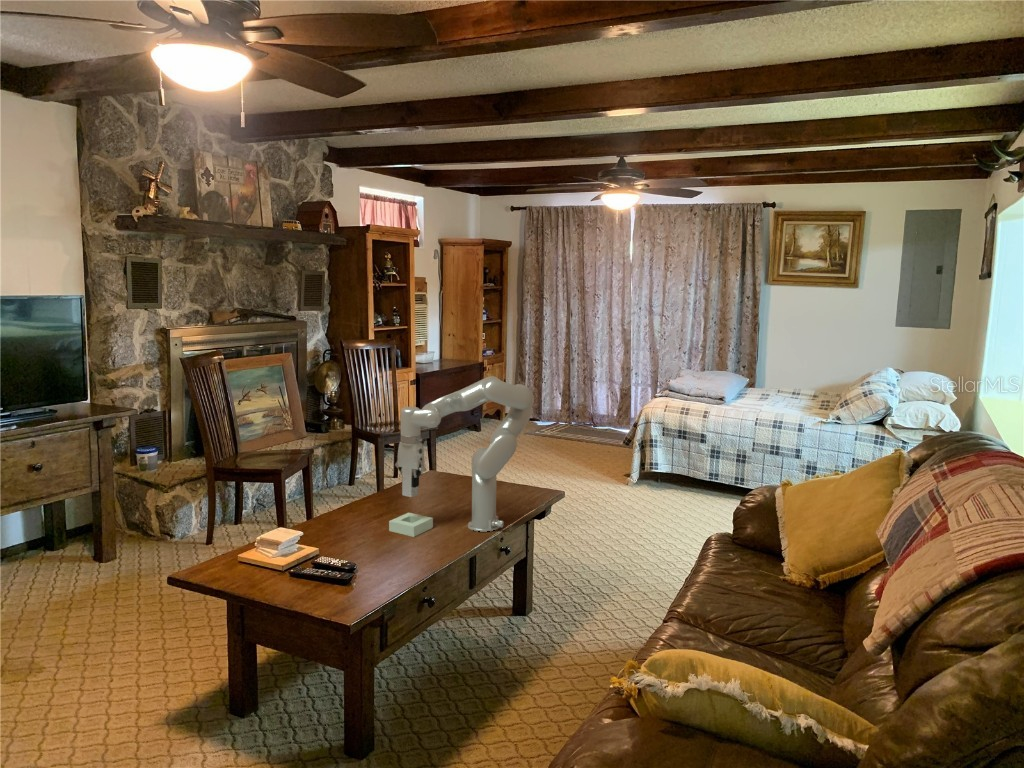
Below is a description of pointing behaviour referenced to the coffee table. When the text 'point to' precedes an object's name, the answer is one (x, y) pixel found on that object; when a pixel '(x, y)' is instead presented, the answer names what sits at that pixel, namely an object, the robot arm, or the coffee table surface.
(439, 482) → the coffee table surface
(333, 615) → the coffee table surface
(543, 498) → the coffee table surface
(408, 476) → the steel bar
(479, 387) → the robot arm
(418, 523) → the well block
